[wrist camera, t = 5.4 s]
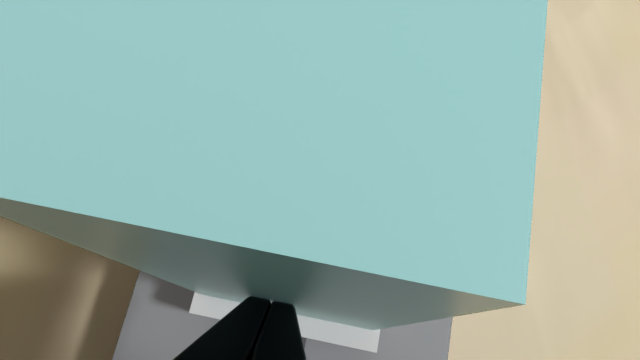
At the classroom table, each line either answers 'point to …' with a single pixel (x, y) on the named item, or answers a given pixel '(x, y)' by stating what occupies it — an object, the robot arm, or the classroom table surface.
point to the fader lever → (283, 149)
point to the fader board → (184, 328)
